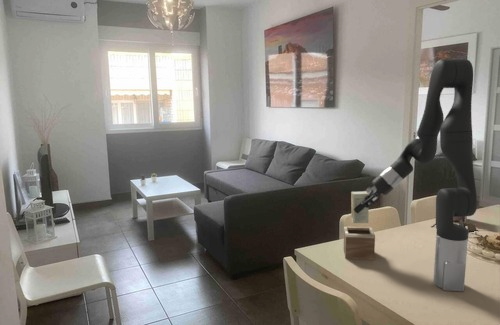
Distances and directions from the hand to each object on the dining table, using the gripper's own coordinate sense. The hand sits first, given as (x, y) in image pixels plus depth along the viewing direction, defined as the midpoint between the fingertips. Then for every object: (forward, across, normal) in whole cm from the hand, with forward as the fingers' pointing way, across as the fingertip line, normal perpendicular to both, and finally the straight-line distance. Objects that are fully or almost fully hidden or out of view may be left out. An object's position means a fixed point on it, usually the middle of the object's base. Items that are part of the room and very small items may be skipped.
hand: (354, 209), depth 148 cm
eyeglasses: (-20, -33, +49) cm, 62 cm away
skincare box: (+2, 0, +5) cm, 6 cm away
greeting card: (-28, -48, +56) cm, 78 cm away
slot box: (+12, 0, +14) cm, 19 cm away
